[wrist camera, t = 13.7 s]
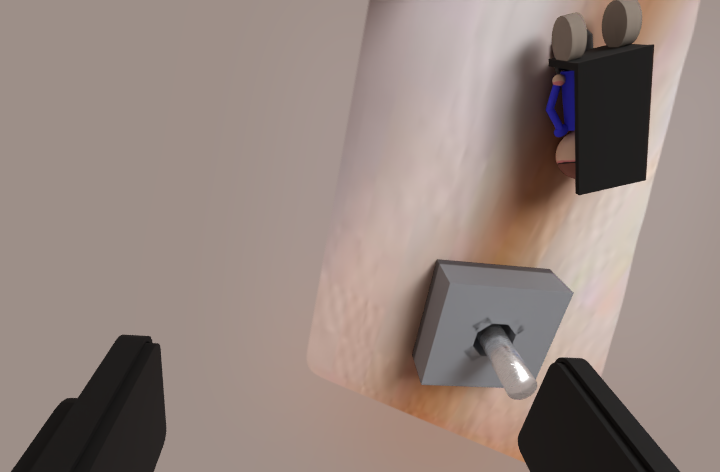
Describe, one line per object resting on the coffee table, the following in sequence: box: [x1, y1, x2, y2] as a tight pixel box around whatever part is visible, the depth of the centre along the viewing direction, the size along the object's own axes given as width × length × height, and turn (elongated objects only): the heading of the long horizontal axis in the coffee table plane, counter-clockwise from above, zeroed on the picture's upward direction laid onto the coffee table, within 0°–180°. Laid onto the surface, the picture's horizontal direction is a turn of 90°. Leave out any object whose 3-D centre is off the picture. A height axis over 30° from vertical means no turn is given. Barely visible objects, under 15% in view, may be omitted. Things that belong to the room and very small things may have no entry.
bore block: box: [412, 260, 573, 388], centre depth 48 cm, size 14×14×5 cm
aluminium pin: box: [476, 324, 537, 400], centre depth 44 cm, size 3×3×11 cm
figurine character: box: [546, 0, 654, 195], centre depth 37 cm, size 7×8×15 cm
